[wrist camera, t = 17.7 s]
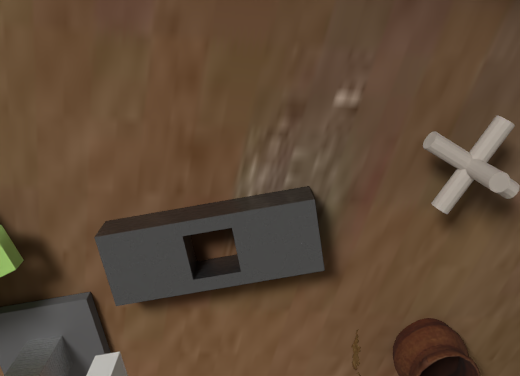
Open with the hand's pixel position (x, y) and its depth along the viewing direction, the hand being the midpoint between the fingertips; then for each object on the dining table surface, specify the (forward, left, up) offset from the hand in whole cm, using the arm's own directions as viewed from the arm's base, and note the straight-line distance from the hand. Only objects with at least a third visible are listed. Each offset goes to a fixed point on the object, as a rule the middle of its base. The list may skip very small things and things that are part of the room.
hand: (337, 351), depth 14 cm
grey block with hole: (+11, -8, -35) cm, 37 cm away
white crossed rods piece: (+6, +18, -35) cm, 40 cm away
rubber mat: (+21, -29, -35) cm, 50 cm away
